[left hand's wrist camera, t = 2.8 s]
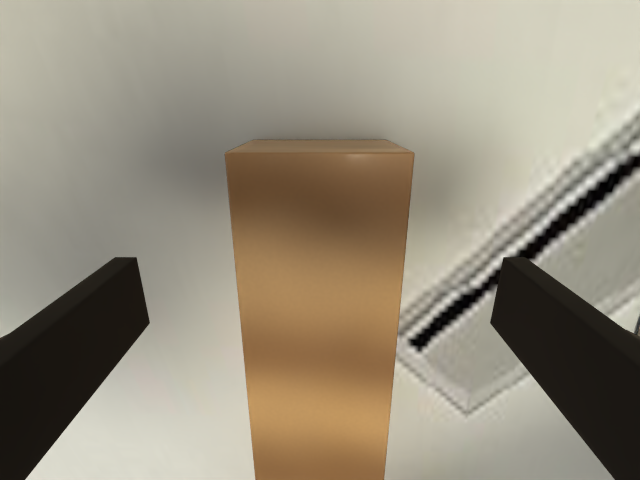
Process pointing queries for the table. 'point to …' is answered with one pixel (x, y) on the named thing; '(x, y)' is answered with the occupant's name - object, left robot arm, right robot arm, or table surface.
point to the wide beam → (319, 299)
